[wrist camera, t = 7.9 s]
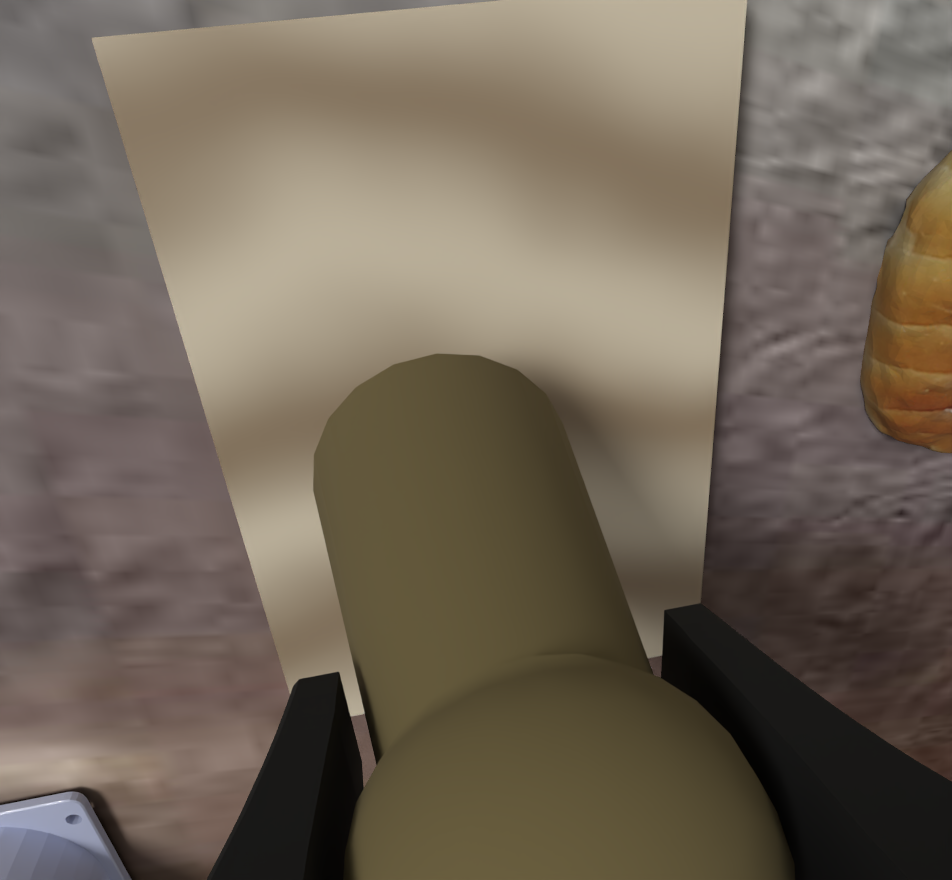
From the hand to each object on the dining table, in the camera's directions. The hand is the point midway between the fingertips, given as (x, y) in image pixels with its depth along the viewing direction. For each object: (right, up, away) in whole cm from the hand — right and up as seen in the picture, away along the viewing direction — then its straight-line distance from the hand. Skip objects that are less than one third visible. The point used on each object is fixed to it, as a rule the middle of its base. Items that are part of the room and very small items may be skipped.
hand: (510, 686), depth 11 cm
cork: (-1, +3, +5) cm, 6 cm away
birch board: (-1, +5, +9) cm, 10 cm away
